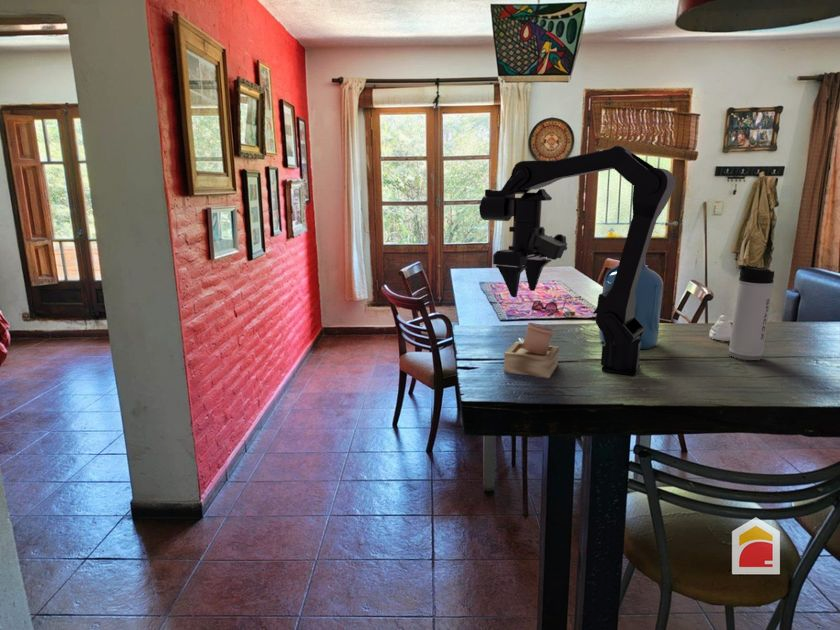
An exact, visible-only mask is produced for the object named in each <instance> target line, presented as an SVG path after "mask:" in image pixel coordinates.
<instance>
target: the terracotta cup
mask: <svg viewBox="0 0 840 630" xmlns="http://www.w3.org/2000/svg"><path fill="white" fill-rule="evenodd" d="M553 335H555V329H553V328H551V327H549V326H546V325H544V324H543V325H542V324H540V323H535V322H528V323H527V329H526V332H525V335H524V339H523V341H522V342H523V345H522V348H524V349H525V350H528V351H530V352H533V353H536V354H541V355H546V353H547V350H548V347H549V345H551V341H552V340H551V339H552V337H553Z"/></svg>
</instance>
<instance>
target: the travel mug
mask: <svg viewBox="0 0 840 630" xmlns="http://www.w3.org/2000/svg"><path fill="white" fill-rule="evenodd" d="M738 269H740V270H739V271H740V272H739V278H738V284H737V289H736V298H735V304H734V313H733V318H732V324H731V326H732V332H731V339H730V341H729V348H728V356H730V357H731V356H732V357H731V358H733V357H734V358H733V359H736V358H738V359H737V360H740V359H743V360H742V361H746V360H758V361H760V359H761V360H762V359H763V355H764V354H763V353H764V352H763V351H764V348H765V347H764V345H765V341H766V340H765V339H766V335H767V334H766V332H767V328H768V327H767V326H768V320H769V316H770V315H769V314H770V307H771V302H772V295H773V288H774V286H773V285H774V279H775V270H771V269H769V268H764V267H763V268H762V267H757V266H750V265H744V264H739V265H738Z"/></svg>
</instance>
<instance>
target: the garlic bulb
mask: <svg viewBox="0 0 840 630" xmlns="http://www.w3.org/2000/svg"><path fill="white" fill-rule="evenodd" d="M731 332H732V324H731V323H730V321H729V320H728V318H727V316H726V315H723V314H722V315H720V316H719V317H718V320H717V321H716V322H714V325H712V326H711V328H710V330H709V333H708V335H709V338H710V339H711V338H712V339H711V340H713V339H717V340H725V341H728V340H730V339H731Z"/></svg>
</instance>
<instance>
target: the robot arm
mask: <svg viewBox="0 0 840 630" xmlns="http://www.w3.org/2000/svg"><path fill="white" fill-rule="evenodd" d="M611 170H615V171H616V172H617V173H618V174H619V176H621V177H622V178H623V179H624V180H626V181H627V183H630V184H631V185H632V186H633V191H632V199H631V201H632V203H631V204H632V218H631V220H630V221H631V225H630V224H629V225H630V228H629V227H628V230H629V231H628V230H627V234H628V235H627V234H626V238H625V241H624V245H623V249H622V253H621V256H620V259H619V263H618V265H619V266H618V265H617V266H618V269H617V272H616V276H615V279H614V283H613V286H612V288H611V289H610V290H608V291H606V292H603V291H602V292H601V293H599V294H598V297H597V305H596V309H595V310H594V311H593V315H595V319H594V320H595V324H596V325H597V327H598V330H599V331H600V330H601V331H602V333H603V336H604V340H605V342H606V343H604V344H603V345H602V346H601V357H600V365H601V371H602V372H606V373H607V372H609V373H614V374H620V375H621V374H622V375H627V376H636V375H637V374H638V372H639V369H640V367H641V364H640V353H641V349H640V345H641V340H638V338H640V337H641V336H642V334H643V332H644V330H645V328H644V327H643V325H642V324H641V323H640V322H639V321H638V320H637V318H636V317H635V316H634V314H635V306H636V297H635V289H636V285H637V282H638V279H639V275H640V272H641V269H642V266H643V262H644V259H645V260H646V256H647V252H648V250H649V249H648V248H649V246H650V242H651V239H652V236H653V233H654V230H655V227H656V223H657V221H658V218H659V217H660V215H661V213H662V212H663V211H664V209H665V208H666V205H667V204H668V202H669V200H670V198H671V197H672V194H673V192H674V190H675V188H676V178H675V176H674V174H673V173H672V172H671V171H670V170H668V169H665V168H662V167H661V168H660V167H655V166H653V165H652V164H650V163H648V162H647V161H646V160H644V159H643V158H640V157H639V156H638V155H636V154H635V153H633V152H632V150H630V149H629V148H628V147H625V146H620V145H614V146H612V147H610V148H607V149H602V150H598V151H597V150H596V151H593V152H588V153H584V154H583V153H582V154H579V155H578V154H577V155H573V156H568V157H565V158H558V159H555V160H554V159H553V160H521V161H518V162H517V163H515V165H514V167H513V168H512V170H511V173H510V177H509V178H508V179H507V181H506V183H505V184H504V186H502V188H501V190H497V189H493V188H492V189H490V188H489V189H485V190H484V195H483V196H482V198H481V200H480V203H479V207H478V208H479V215H480V218H481V219H482V220H484V221H493V222H494V221H497V222H509V221H510V220H511V219H512V217H513V222H512V223H513V225H512V226H509V229H508V230H509V231H508V232H510V233H512V245H509V246H508V249H501V250H496V251H495V252H494V253H493V255H492V264H493V265H495V268H496V269H497V270H498V271H499V272H500V275H501V277H502V278H503V279H502V280H503V281H504V283H505V285H506V287H507V290H508V291H509V292H508V293H509V295H510V297H512V298H516V297H517V295H518V290H519V286H520V285H519V284H520V279H521V274H522V273H523V272H525V276H526V280H527V284H528V289H529V291H531V292H532V291H533V292H534V291H536V288H537V286H538V282H539V280H540V276H541V274H542V272H543V269H544V267H546V266H547V265H548V264H549V263H551V262H552V261H553V260H557V259H561V258H562V256H563V254H564V252H565V251H567V250H568V243H567V237H566V236H565V235H563V234H561V233H558V234H556V235H555V236H554V237H553V236H552V235H550V236H549V235H547V234H545V231H546V229H545V228H544V226H541V220H542V219H541V218H542V204H543V203H542V202H543V201H545V202H547V201H552V196H550V194H548V192H547V191H546V189H544V187H546V186H549V185H552V184H553V183H555V182H557V181H560V180H563V179H568V178H574V177H578V176H582V175H583V176H585V175H587V174H588V175H589V174H593V173H599V172H604V171H611ZM531 190H537V191H536V192H530V191H531ZM516 195H521V196H520V197H516Z"/></svg>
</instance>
